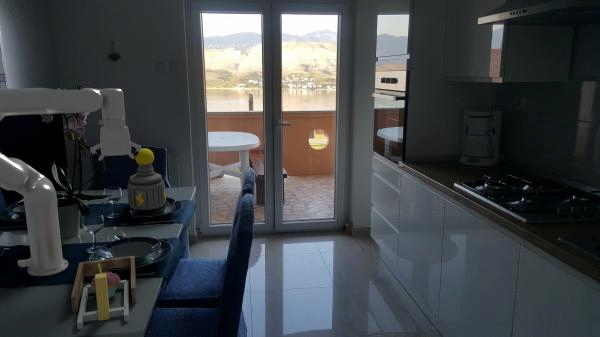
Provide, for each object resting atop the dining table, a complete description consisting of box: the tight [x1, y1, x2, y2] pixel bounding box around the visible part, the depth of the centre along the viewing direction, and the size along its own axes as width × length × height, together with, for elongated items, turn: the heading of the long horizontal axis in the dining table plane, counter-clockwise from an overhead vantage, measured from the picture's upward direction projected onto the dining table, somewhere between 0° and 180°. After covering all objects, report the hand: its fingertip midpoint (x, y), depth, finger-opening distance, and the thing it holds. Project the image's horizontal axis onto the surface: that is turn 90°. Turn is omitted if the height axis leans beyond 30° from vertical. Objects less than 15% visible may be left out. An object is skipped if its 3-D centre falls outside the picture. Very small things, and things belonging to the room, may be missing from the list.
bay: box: [70, 255, 137, 314], centre depth 147 cm, size 18×25×5 cm
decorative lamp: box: [126, 147, 167, 211], centre depth 232 cm, size 19×19×30 cm
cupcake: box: [90, 263, 121, 299], centre depth 142 cm, size 9×8×12 cm
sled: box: [76, 273, 130, 330], centre depth 136 cm, size 13×22×13 cm, turn 20°
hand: (117, 169), depth 167 cm, fingers open, 9 cm apart
